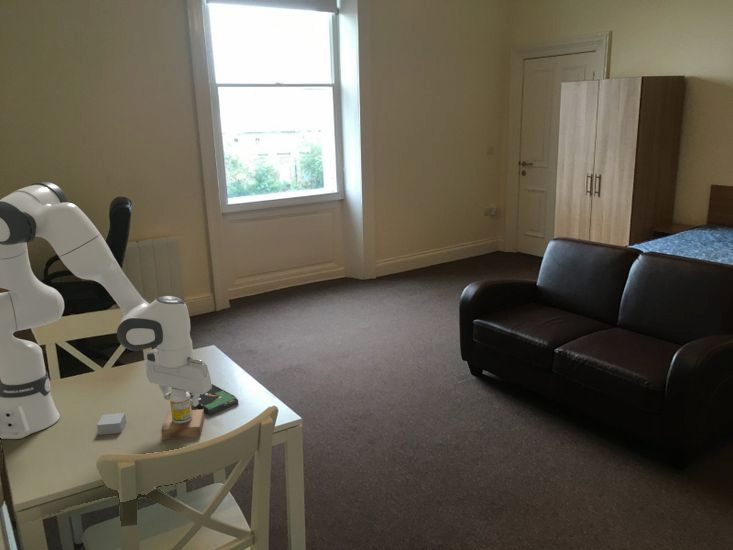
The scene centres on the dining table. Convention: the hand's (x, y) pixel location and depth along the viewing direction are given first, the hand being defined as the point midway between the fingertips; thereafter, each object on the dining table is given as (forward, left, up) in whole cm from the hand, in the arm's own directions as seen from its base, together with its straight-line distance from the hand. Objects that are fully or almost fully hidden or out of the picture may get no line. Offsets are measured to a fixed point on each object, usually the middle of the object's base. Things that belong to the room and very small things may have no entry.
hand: (181, 401), depth 166 cm
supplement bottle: (0, 0, -5) cm, 5 cm away
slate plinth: (-20, +4, -8) cm, 22 cm away
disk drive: (+6, +15, -9) cm, 18 cm away
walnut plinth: (0, 0, -8) cm, 8 cm away
